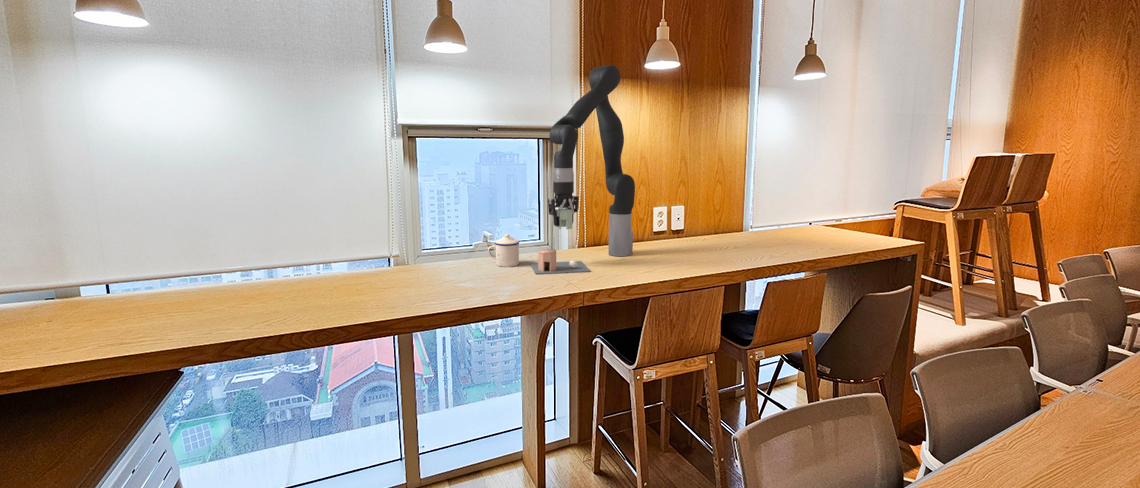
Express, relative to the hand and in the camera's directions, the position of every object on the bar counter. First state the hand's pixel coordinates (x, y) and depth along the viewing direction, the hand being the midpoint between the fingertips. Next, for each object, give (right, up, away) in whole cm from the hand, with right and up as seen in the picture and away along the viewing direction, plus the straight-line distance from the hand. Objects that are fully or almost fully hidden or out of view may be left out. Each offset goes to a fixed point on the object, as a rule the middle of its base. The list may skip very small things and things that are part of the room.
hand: (563, 224), depth 205 cm
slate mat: (-1, -16, -1) cm, 16 cm away
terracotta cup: (-6, -16, -5) cm, 18 cm away
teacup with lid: (-23, -15, +4) cm, 28 cm away
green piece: (0, -1, 0) cm, 1 cm away
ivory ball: (+4, -16, -3) cm, 17 cm away
